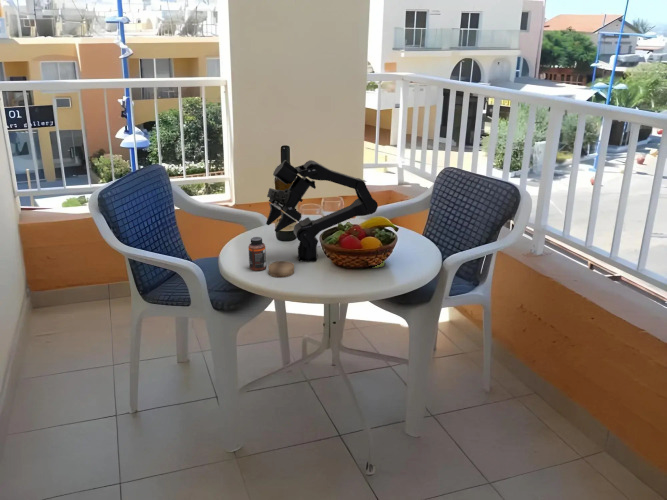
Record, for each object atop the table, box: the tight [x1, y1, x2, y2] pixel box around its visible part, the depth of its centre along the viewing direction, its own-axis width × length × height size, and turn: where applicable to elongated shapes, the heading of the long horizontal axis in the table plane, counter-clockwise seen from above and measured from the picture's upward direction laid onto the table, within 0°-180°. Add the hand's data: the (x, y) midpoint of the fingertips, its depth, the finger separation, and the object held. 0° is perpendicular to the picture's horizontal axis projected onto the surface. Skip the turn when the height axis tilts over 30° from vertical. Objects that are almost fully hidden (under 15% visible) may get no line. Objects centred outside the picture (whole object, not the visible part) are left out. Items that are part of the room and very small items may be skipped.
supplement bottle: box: [247, 236, 267, 272], centre depth 205 cm, size 6×6×11 cm
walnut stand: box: [268, 260, 295, 278], centre depth 203 cm, size 9×9×2 cm
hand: (271, 227), depth 206 cm, fingers open, 9 cm apart
